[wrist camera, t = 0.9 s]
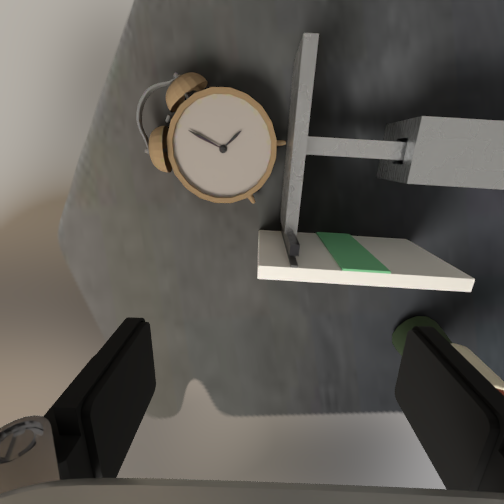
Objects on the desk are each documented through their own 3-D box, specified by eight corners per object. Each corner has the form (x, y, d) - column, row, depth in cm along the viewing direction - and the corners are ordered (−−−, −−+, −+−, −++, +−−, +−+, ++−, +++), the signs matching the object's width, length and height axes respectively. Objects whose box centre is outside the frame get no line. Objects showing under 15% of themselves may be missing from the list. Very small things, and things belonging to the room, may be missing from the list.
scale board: (259, 228, 35) (258, 263, 24) (406, 237, 35) (476, 276, 24) (258, 239, 36) (257, 278, 25) (404, 248, 36) (471, 292, 24)
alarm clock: (248, 221, 32) (112, 157, 28) (243, 210, 37) (125, 153, 33) (299, 125, 29) (154, 35, 25) (287, 125, 34) (163, 49, 29)
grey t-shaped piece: (294, 60, 29) (311, 10, 19) (404, 66, 29) (480, 20, 19) (279, 226, 35) (286, 255, 25) (372, 231, 35) (417, 263, 25)
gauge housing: (386, 124, 31) (422, 115, 24) (507, 131, 31) (577, 125, 24) (376, 177, 33) (407, 183, 26) (490, 184, 33) (551, 192, 26)
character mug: (365, 335, 40) (411, 415, 28) (398, 294, 38) (464, 362, 26) (427, 368, 41) (498, 459, 29) (462, 331, 39) (554, 412, 27)
